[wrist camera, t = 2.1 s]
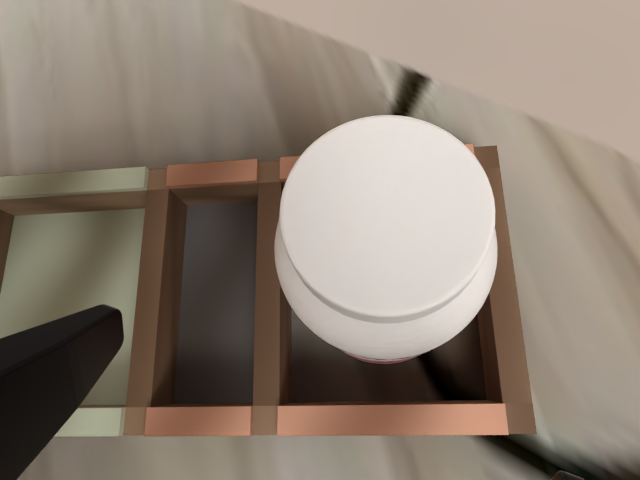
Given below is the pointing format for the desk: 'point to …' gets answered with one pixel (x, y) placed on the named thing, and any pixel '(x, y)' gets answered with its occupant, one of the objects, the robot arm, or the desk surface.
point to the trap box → (215, 305)
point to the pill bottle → (386, 238)
